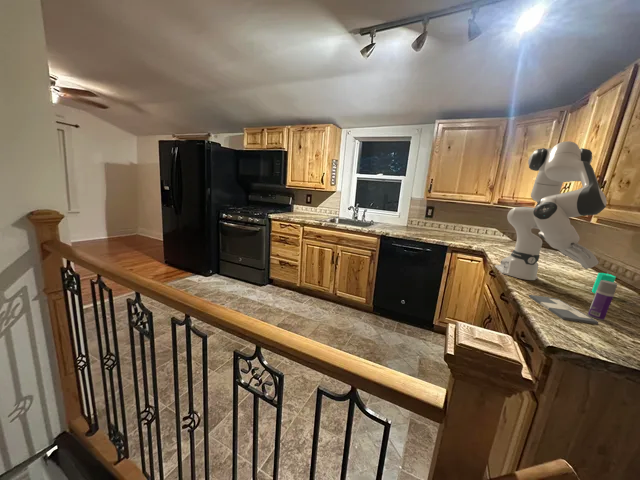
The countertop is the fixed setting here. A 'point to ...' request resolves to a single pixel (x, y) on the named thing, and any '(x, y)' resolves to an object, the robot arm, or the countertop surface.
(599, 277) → the candle
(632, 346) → the countertop surface
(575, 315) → the letter board
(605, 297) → the container
